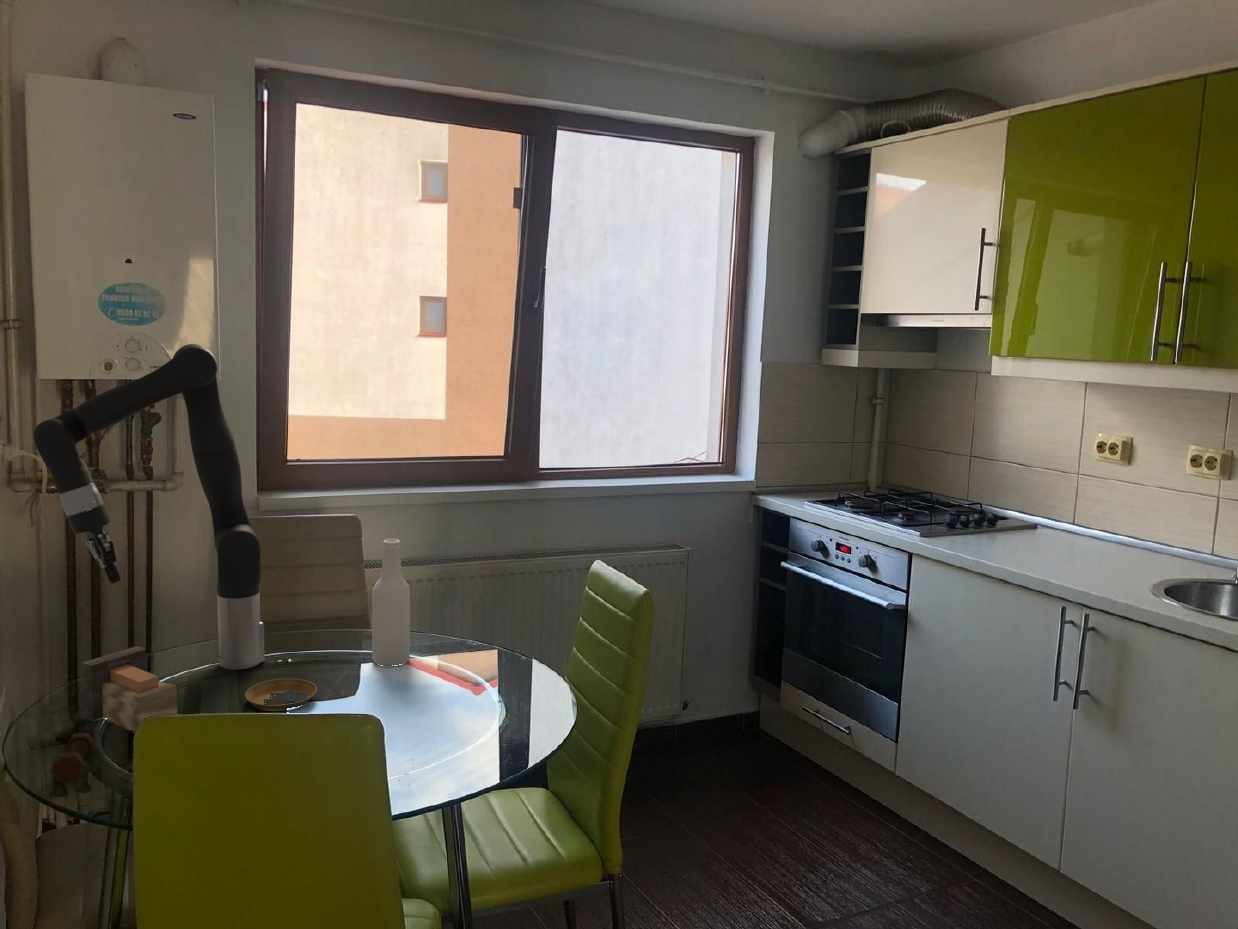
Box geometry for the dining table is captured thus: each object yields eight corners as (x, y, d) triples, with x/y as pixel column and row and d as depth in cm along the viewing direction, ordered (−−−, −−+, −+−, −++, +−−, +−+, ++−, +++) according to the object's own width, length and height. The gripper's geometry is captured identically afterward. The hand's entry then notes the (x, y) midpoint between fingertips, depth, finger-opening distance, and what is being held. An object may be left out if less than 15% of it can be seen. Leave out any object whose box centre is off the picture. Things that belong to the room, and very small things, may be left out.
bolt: (90, 754, 194) (72, 789, 180) (65, 744, 192) (44, 778, 178) (106, 728, 194) (89, 761, 180) (80, 717, 192) (61, 750, 178)
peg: (102, 685, 207) (102, 667, 206) (121, 679, 210) (120, 661, 209) (140, 701, 200) (139, 682, 199) (158, 695, 203) (158, 676, 203)
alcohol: (392, 651, 248) (393, 534, 243) (417, 660, 243) (418, 540, 238) (364, 661, 241) (364, 540, 236) (389, 671, 236) (389, 547, 231)
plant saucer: (231, 703, 215) (230, 691, 215) (290, 683, 227) (290, 672, 226) (271, 723, 206) (271, 711, 206) (331, 702, 218) (331, 690, 218)
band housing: (85, 718, 204) (82, 662, 202) (140, 699, 214) (137, 646, 212) (131, 739, 196) (129, 681, 194) (186, 719, 206) (184, 663, 204)
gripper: (59, 514, 218) (90, 587, 221) (73, 514, 208) (105, 591, 211) (95, 501, 222) (125, 573, 226) (110, 501, 212) (140, 576, 216)
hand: (115, 582), depth 218 cm, fingers closed
